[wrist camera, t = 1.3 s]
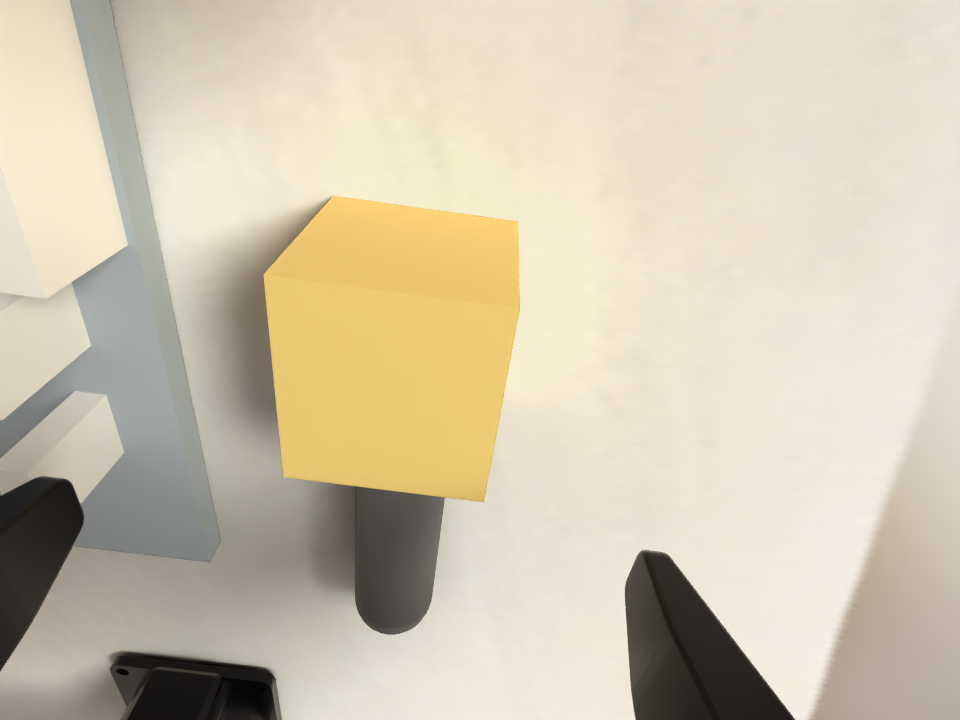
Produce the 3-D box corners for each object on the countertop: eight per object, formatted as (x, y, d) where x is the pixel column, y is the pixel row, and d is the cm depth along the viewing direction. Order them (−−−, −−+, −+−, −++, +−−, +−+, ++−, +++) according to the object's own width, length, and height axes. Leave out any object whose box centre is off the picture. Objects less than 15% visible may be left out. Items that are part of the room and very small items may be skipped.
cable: (456, 588, 19) (444, 713, 16) (341, 574, 19) (304, 697, 16) (517, 221, 12) (519, 309, 9) (333, 195, 12) (262, 274, 9)
